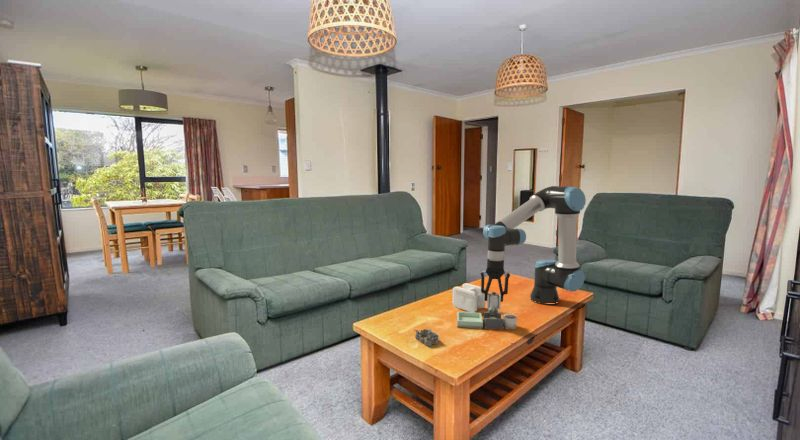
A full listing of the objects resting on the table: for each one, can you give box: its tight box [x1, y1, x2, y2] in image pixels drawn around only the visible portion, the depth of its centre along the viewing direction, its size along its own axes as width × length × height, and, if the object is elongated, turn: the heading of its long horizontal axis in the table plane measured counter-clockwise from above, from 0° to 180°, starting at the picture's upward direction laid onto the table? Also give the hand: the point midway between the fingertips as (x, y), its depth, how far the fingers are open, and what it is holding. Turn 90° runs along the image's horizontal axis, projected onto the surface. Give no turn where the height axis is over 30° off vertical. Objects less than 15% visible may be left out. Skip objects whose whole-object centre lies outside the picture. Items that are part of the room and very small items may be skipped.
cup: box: [502, 313, 518, 330], centre depth 171 cm, size 6×6×5 cm
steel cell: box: [487, 291, 500, 315], centre depth 172 cm, size 5×5×10 cm
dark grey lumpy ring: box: [413, 328, 440, 347], centre depth 157 cm, size 11×8×4 cm
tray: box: [456, 311, 484, 330], centre depth 176 cm, size 12×12×3 cm
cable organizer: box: [451, 282, 486, 313], centre depth 194 cm, size 15×11×12 cm
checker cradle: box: [483, 311, 504, 330], centre depth 173 cm, size 8×9×5 cm
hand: (493, 307), depth 172 cm, fingers closed on steel cell, 4 cm apart
